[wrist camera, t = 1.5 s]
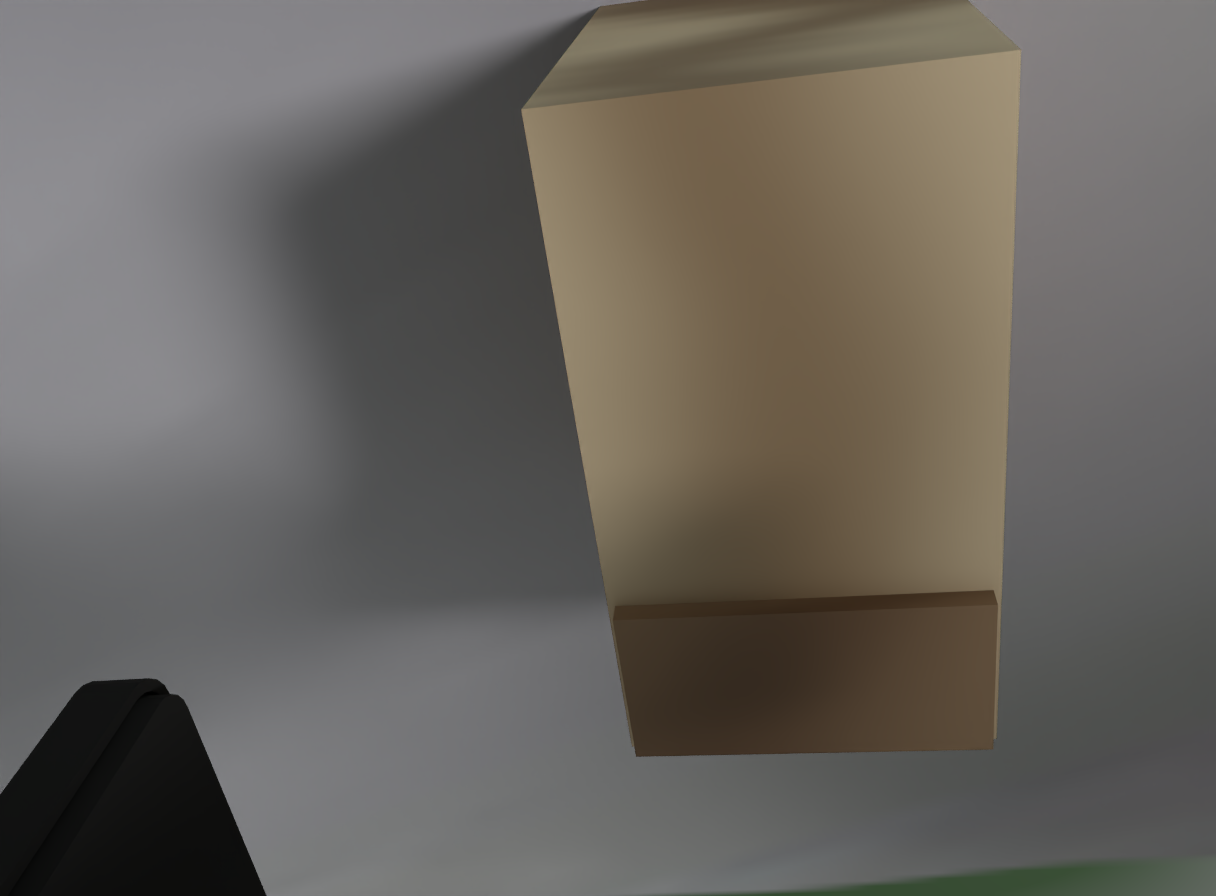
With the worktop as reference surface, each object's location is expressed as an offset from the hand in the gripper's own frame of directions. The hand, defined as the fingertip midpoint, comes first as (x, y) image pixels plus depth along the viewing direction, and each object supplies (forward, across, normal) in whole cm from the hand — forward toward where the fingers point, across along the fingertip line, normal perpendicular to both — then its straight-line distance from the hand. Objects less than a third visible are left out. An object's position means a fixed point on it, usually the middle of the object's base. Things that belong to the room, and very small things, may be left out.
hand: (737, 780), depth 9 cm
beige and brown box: (+12, -1, 0) cm, 12 cm away
